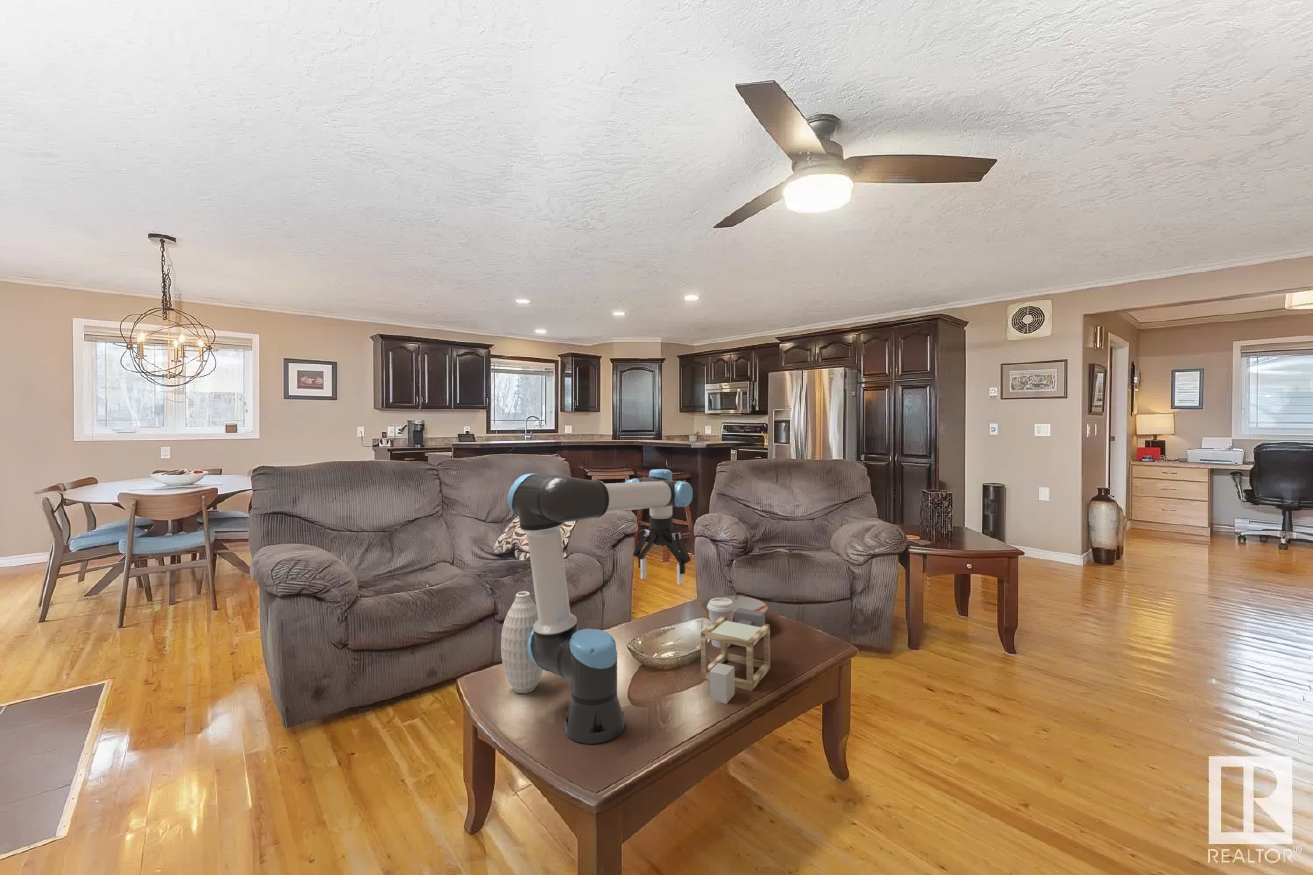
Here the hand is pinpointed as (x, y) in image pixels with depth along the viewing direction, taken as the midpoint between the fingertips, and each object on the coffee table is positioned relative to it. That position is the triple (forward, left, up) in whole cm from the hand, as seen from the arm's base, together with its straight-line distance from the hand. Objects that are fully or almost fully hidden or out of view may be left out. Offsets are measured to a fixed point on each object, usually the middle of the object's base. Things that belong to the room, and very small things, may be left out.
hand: (661, 580), depth 181 cm
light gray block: (-15, -28, -25) cm, 41 cm away
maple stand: (0, -26, -25) cm, 36 cm away
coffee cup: (+18, -13, -25) cm, 34 cm away
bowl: (+35, -11, -25) cm, 45 cm away
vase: (-39, +24, -25) cm, 52 cm away
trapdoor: (+4, -26, -14) cm, 30 cm away
